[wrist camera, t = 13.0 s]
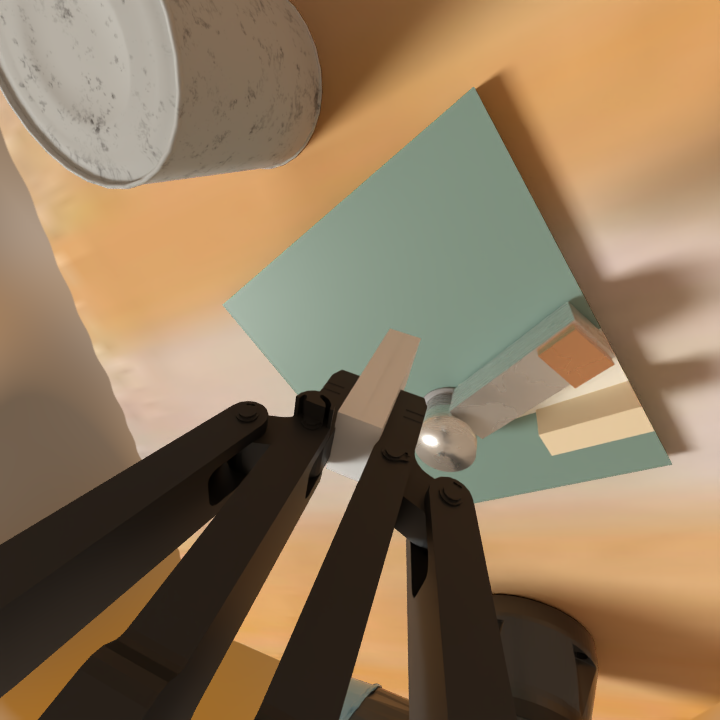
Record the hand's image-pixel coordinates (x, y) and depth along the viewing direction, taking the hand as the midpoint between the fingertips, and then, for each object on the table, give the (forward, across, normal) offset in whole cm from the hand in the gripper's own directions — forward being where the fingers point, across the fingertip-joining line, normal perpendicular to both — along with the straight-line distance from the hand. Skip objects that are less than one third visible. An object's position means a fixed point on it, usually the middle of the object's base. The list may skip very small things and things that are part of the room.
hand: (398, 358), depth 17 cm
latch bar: (+9, +7, -5) cm, 13 cm away
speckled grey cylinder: (+11, -15, +10) cm, 21 cm away
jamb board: (+11, +2, -7) cm, 13 cm away
